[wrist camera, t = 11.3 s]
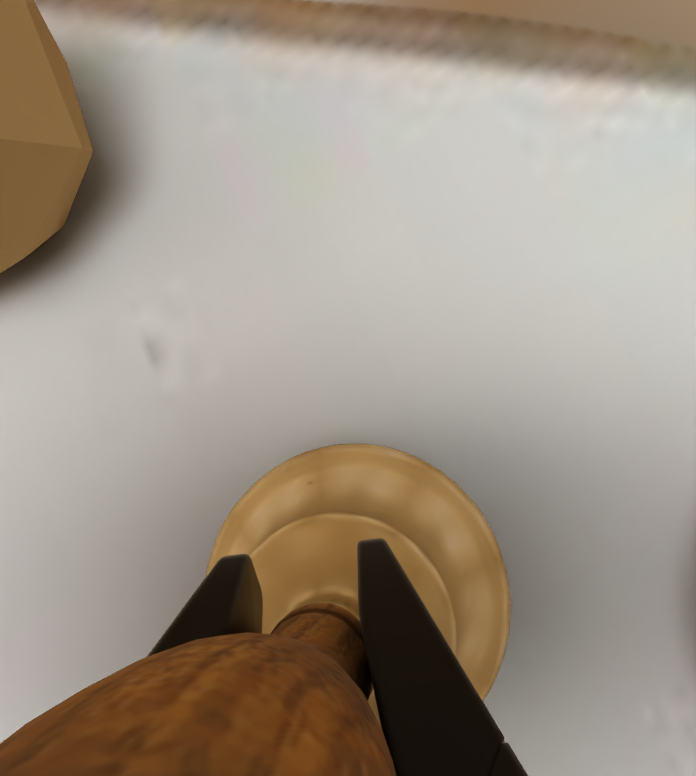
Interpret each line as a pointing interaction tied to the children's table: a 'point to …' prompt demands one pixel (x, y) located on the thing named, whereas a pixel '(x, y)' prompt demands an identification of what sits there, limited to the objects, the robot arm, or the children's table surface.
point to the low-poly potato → (35, 133)
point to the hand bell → (291, 634)
